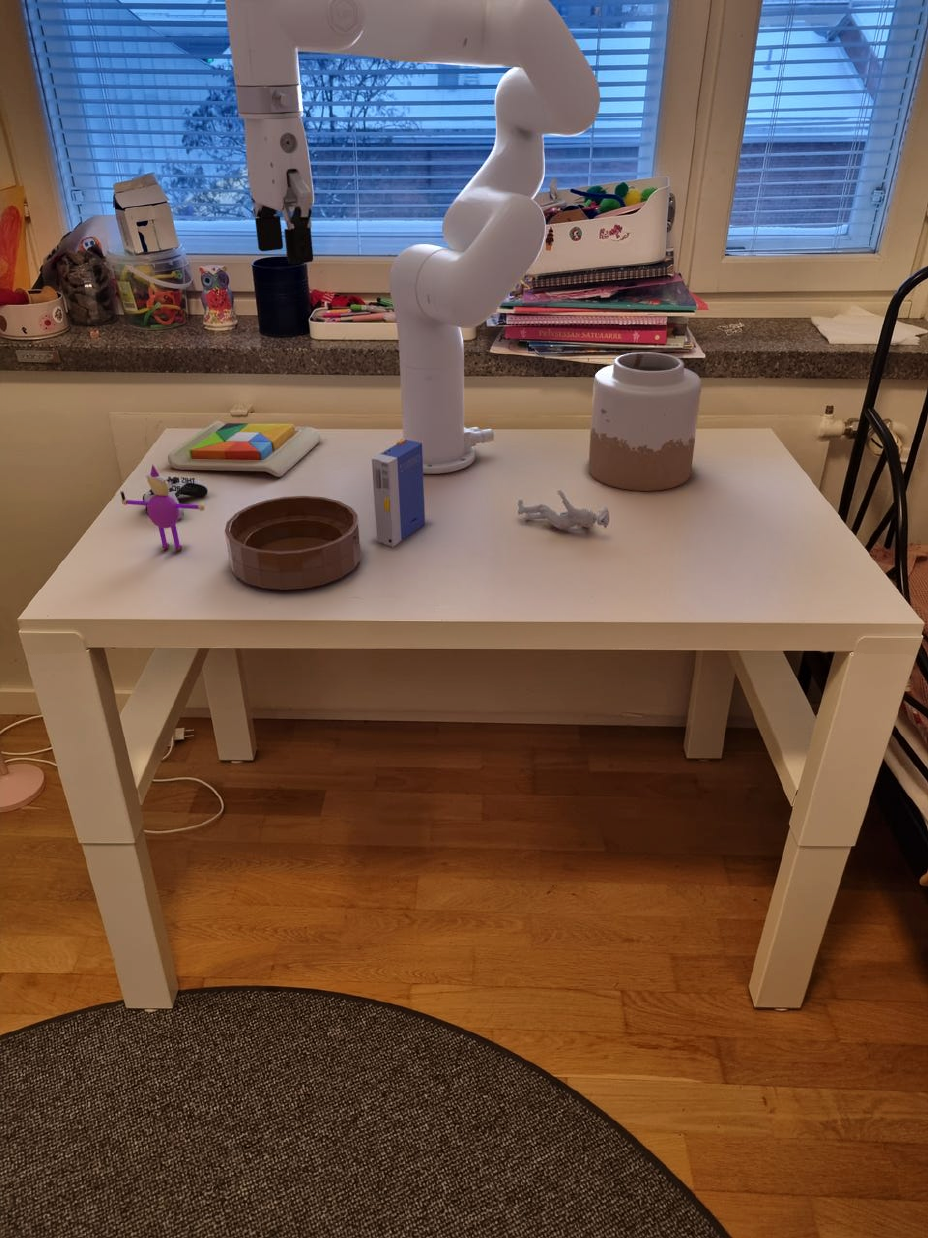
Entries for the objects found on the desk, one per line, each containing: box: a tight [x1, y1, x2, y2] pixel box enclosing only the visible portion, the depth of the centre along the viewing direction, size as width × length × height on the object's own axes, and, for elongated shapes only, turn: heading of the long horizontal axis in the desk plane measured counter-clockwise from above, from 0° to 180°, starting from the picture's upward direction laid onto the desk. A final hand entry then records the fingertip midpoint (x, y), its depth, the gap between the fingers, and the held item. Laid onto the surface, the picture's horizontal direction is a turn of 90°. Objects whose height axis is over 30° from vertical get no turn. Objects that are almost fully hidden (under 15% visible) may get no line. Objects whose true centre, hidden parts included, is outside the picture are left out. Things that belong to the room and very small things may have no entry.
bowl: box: [224, 495, 362, 591], centre depth 121 cm, size 16×16×6 cm
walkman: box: [371, 438, 426, 548], centre depth 126 cm, size 8×3×12 cm, turn 149°
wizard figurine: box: [119, 464, 205, 552], centre depth 122 cm, size 11×3×12 cm, turn 79°
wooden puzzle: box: [167, 420, 322, 478], centre depth 153 cm, size 18×19×4 cm
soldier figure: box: [517, 490, 610, 531], centre depth 129 cm, size 8×5×12 cm
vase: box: [588, 351, 702, 492], centre depth 142 cm, size 15×15×17 cm
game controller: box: [142, 477, 209, 520], centre depth 137 cm, size 10×5×6 cm
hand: (285, 255), depth 122 cm, fingers open, 9 cm apart
